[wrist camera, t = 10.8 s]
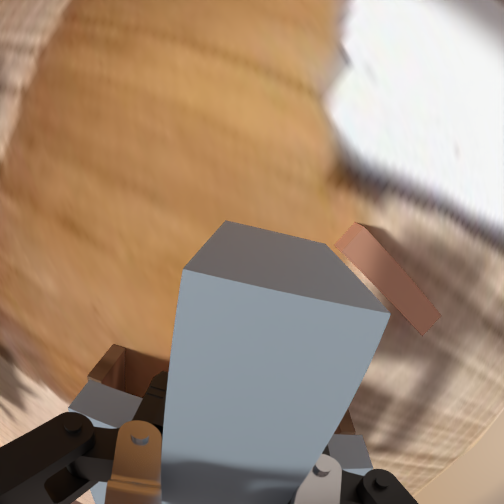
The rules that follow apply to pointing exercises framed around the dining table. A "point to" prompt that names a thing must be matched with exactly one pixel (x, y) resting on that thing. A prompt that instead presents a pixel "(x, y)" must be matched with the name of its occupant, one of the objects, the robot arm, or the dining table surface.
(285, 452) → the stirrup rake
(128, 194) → the dining table surface
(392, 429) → the dining table surface
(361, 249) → the stick
